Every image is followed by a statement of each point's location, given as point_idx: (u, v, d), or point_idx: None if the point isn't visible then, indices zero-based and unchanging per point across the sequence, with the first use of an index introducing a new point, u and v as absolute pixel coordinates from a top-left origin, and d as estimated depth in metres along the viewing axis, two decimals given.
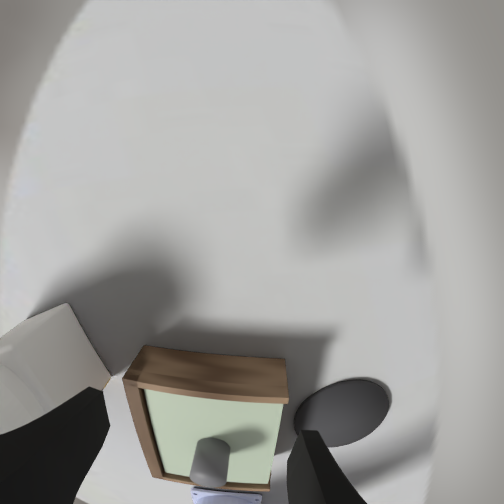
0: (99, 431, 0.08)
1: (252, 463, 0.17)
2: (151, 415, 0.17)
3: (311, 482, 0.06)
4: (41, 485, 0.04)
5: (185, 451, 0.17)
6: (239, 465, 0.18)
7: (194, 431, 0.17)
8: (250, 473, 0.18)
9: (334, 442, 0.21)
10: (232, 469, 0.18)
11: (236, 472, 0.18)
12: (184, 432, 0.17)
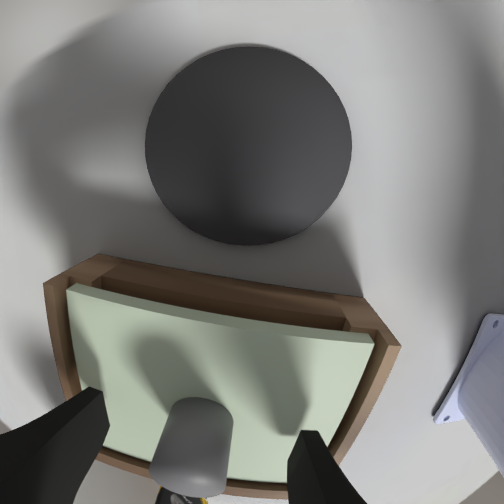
0: (99, 431, 0.08)
1: (263, 371, 0.09)
2: (143, 458, 0.11)
3: (311, 482, 0.06)
4: (41, 485, 0.04)
5: None
6: (270, 393, 0.09)
7: (160, 429, 0.10)
8: (312, 377, 0.09)
9: (333, 155, 0.10)
10: (287, 406, 0.09)
11: (304, 401, 0.09)
12: None
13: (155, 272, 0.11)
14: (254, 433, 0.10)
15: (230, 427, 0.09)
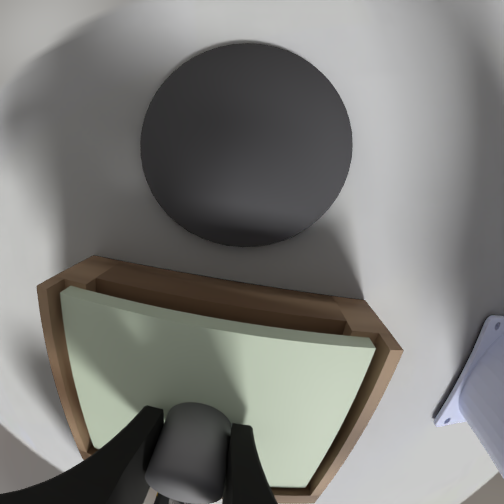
0: None
1: (261, 376, 0.09)
2: None
3: (230, 477, 0.06)
4: None
5: None
6: (269, 399, 0.09)
7: None
8: (312, 383, 0.09)
9: (333, 154, 0.10)
10: (286, 411, 0.09)
11: (303, 406, 0.09)
12: None
13: (151, 274, 0.11)
14: None
15: (228, 433, 0.09)
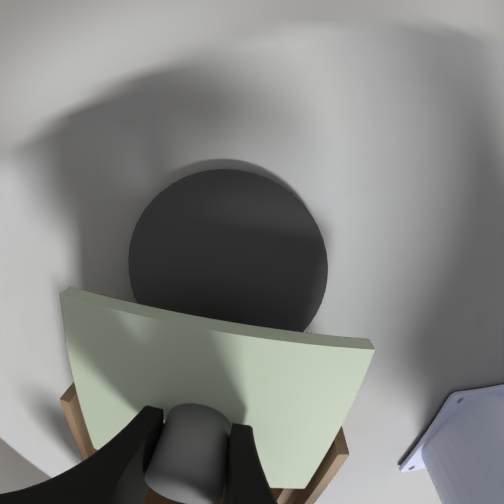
0: None
1: (261, 377, 0.09)
2: None
3: (230, 477, 0.06)
4: None
5: None
6: (268, 400, 0.09)
7: None
8: (311, 384, 0.09)
9: (307, 288, 0.11)
10: (286, 412, 0.09)
11: (303, 407, 0.09)
12: None
13: None
14: None
15: (227, 434, 0.09)
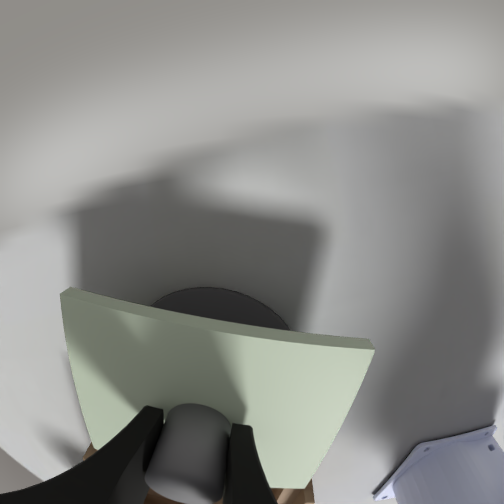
0: None
1: (261, 377, 0.09)
2: None
3: (229, 477, 0.06)
4: None
5: None
6: (268, 400, 0.09)
7: None
8: (311, 384, 0.09)
9: None
10: (286, 412, 0.09)
11: (303, 407, 0.09)
12: None
13: None
14: None
15: (227, 434, 0.09)
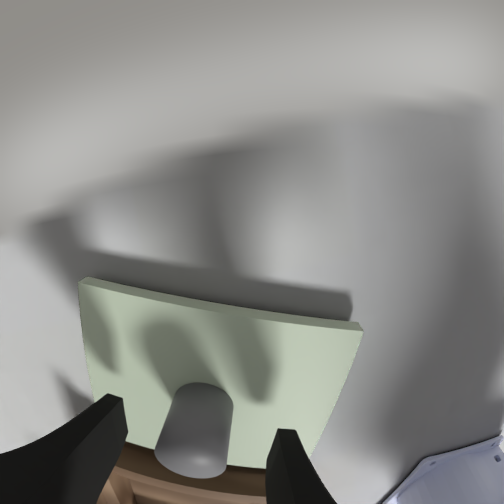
0: (119, 438, 0.08)
1: (261, 356, 0.10)
2: (147, 446, 0.11)
3: (284, 482, 0.06)
4: (65, 498, 0.04)
5: None
6: (268, 378, 0.10)
7: (164, 415, 0.11)
8: (306, 363, 0.10)
9: None
10: (283, 391, 0.10)
11: (299, 385, 0.10)
12: None
13: (148, 455, 0.12)
14: (253, 418, 0.11)
15: (230, 411, 0.10)
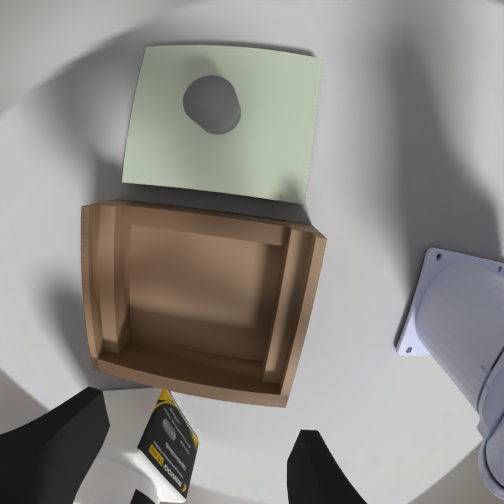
0: (99, 431, 0.08)
1: (259, 70, 0.14)
2: (162, 183, 0.15)
3: (311, 482, 0.06)
4: (41, 485, 0.04)
5: (233, 153, 0.15)
6: (265, 86, 0.14)
7: (185, 132, 0.15)
8: (289, 75, 0.14)
9: None
10: (276, 96, 0.14)
11: (287, 92, 0.14)
12: (188, 146, 0.15)
13: (159, 205, 0.16)
14: (255, 124, 0.15)
15: None
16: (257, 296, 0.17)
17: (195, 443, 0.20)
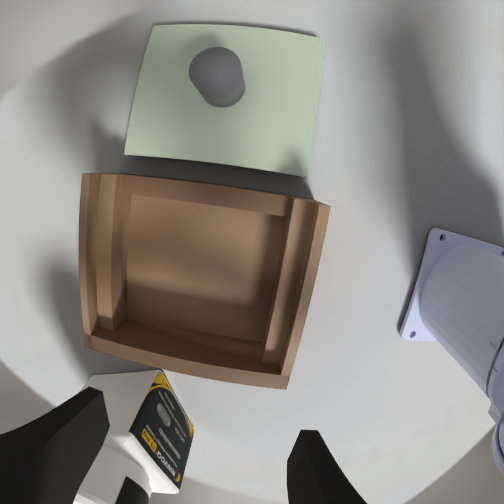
0: (99, 431, 0.08)
1: (264, 48, 0.13)
2: (164, 154, 0.15)
3: (311, 482, 0.06)
4: (41, 485, 0.04)
5: (236, 125, 0.15)
6: (269, 63, 0.14)
7: (189, 105, 0.14)
8: (293, 53, 0.13)
9: None
10: (280, 72, 0.14)
11: (290, 69, 0.14)
12: (192, 118, 0.15)
13: (160, 177, 0.16)
14: (259, 98, 0.14)
15: None
16: (258, 272, 0.17)
17: (190, 431, 0.20)
